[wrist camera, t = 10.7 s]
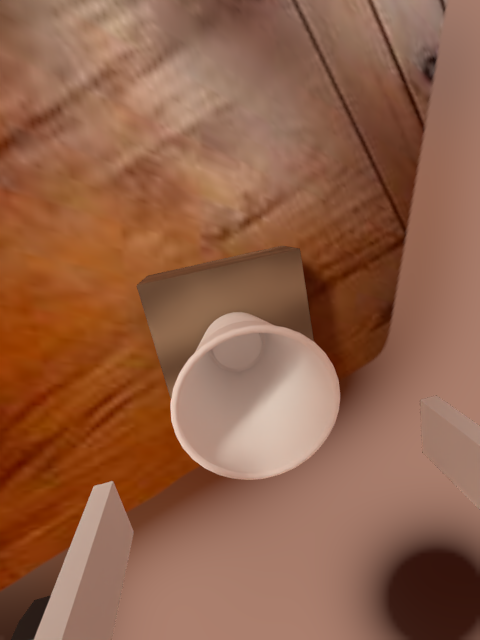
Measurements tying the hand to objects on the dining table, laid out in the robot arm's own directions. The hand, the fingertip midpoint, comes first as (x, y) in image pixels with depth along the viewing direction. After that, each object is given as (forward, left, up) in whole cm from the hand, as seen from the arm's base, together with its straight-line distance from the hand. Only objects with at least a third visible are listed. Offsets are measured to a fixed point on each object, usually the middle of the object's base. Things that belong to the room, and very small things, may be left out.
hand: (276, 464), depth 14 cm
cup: (0, 0, -16) cm, 16 cm away
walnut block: (0, 0, -22) cm, 22 cm away
